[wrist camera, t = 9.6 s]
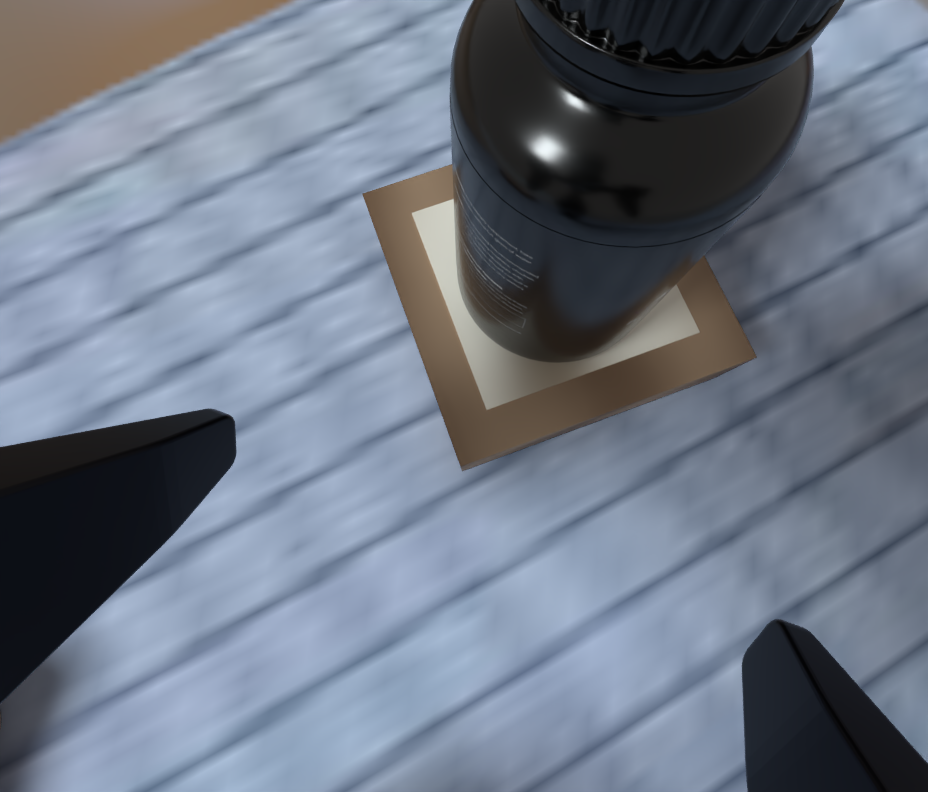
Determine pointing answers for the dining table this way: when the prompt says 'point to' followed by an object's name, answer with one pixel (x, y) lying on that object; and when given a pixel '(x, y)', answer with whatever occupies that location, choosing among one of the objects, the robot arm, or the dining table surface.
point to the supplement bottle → (613, 152)
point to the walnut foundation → (524, 380)
